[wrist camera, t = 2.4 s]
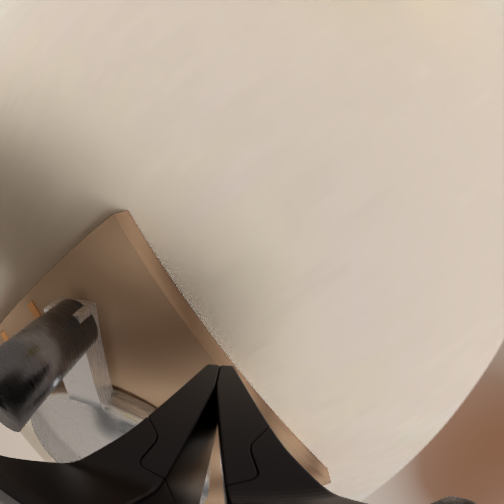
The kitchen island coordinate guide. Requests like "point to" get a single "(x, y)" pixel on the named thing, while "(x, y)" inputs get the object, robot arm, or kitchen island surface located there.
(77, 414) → the silver disc with handle
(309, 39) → the kitchen island surface
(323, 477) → the walnut board
